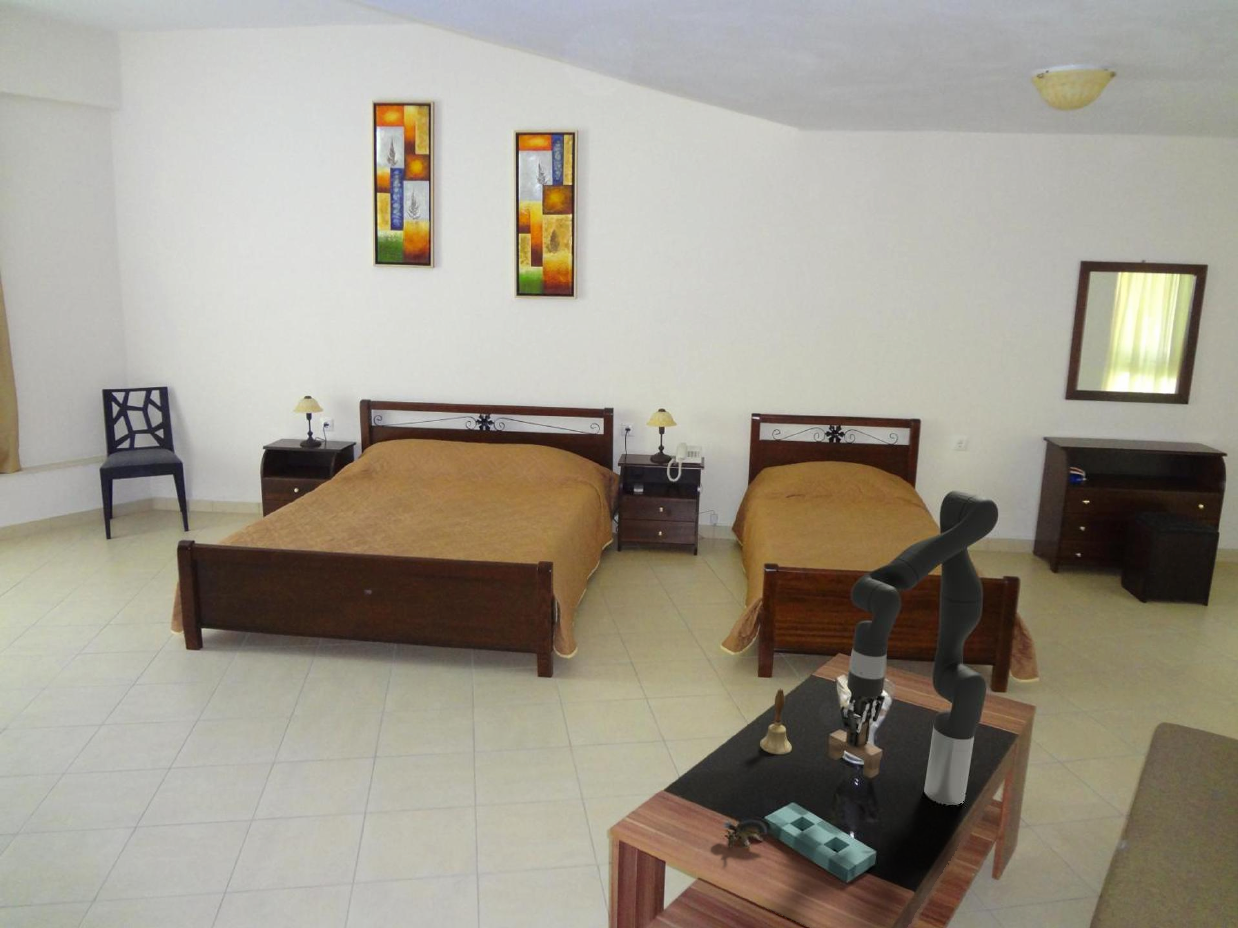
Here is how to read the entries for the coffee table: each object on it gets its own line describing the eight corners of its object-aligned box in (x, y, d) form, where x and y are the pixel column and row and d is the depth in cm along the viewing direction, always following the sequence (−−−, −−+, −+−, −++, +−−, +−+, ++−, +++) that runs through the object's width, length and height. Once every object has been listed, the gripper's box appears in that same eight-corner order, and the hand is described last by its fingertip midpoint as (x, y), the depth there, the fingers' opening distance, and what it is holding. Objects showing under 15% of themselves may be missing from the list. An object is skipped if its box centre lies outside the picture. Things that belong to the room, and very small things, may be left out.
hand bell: (754, 747, 231) (760, 690, 228) (767, 735, 238) (773, 680, 234) (784, 758, 226) (790, 700, 223) (796, 745, 233) (802, 689, 230)
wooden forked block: (826, 756, 198) (831, 713, 196) (837, 751, 201) (842, 708, 198) (869, 778, 190) (874, 734, 188) (879, 772, 192) (885, 728, 190)
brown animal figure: (744, 857, 184) (777, 838, 188) (731, 823, 185) (764, 805, 190) (726, 856, 190) (759, 838, 195) (714, 823, 192) (746, 806, 196)
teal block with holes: (763, 829, 196) (764, 817, 195) (791, 813, 202) (793, 801, 202) (846, 882, 179) (848, 869, 179) (874, 864, 186) (876, 851, 185)
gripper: (863, 684, 183) (853, 760, 186) (900, 668, 192) (891, 741, 195) (833, 671, 188) (824, 745, 192) (870, 656, 197) (862, 727, 201)
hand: (858, 742), depth 194 cm, fingers closed on wooden forked block, 3 cm apart
